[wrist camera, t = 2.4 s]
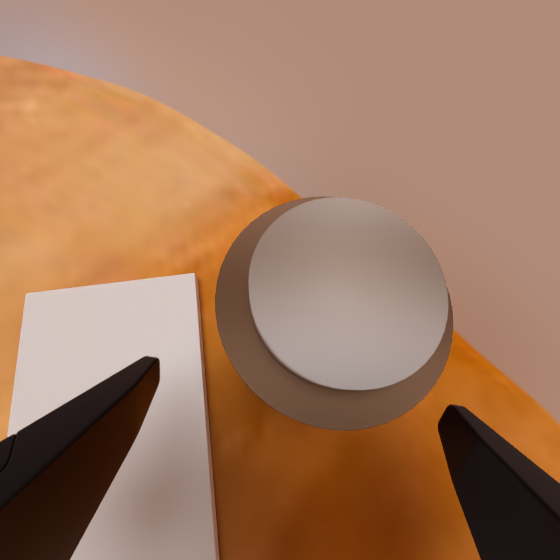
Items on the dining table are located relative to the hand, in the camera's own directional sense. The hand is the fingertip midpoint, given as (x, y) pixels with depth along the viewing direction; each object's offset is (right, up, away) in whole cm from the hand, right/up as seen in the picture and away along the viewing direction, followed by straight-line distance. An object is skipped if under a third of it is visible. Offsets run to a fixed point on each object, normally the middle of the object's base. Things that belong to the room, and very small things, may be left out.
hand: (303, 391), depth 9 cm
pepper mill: (0, -2, +10) cm, 10 cm away
